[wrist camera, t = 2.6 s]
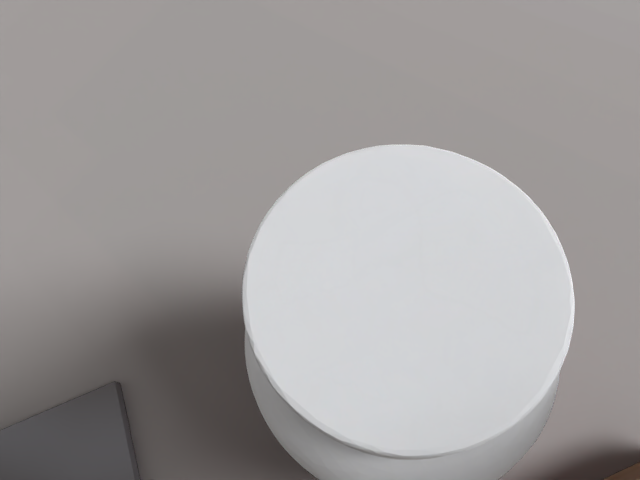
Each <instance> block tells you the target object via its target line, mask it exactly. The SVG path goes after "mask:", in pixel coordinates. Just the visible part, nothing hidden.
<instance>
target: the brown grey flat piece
mask: <svg viewBox="0 0 640 480" xmlns="http://www.w3.org/2000/svg"><path fill="white" fill-rule="evenodd" d="M0 480H140V476H139V472H138V467H137V462H136V457H135V452H134V448H133V443H132V438H131V433H130V428H129V424H128V419H127V414H126V409H125V404H124V399H123V395H122V390H121V385H120V383H118V382H113V383H110V384H108V385H106V386H103V387H101V388H98V389H96V390H94V391H91V392H89V393H87V394H84V395H82V396H80V397H77V398H75V399H73V400H70V401H68V402H66V403H63V404H61V405H59V406H56V407H54V408H52V409H49V410H47V411H45V412H42V413H40V414H37V415H35V416H33V417H30V418H28V419H26V420H23V421H21V422H19V423H16V424H14V425H12V426H9V427H7V428H5V429H2V430H0ZM603 480H640V462H639V463H637V464H635V465H633V466H631V467H628V468H626V469H624V470H622V471H620V472H618V473H616V474H614V475H611V476H609V477H607V478H605V479H603Z"/></svg>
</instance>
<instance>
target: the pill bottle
mask: <svg viewBox="0 0 640 480" xmlns="http://www.w3.org/2000/svg"><path fill="white" fill-rule="evenodd" d="M242 309H243V318H244V324H245V359H246V367H247V372H248V377H249V381H250V384H251V388H252V391H253V394H254V397H255V400H256V402H257V405H258V407H259V410H260V412H261V414H262V415H263V417H264V419H265V421H266V423H267V425H268V426H269V428H270V430H271V431H272V433H273V434H274V436H275V437H276V439H277V440H278V441H279V443H280V444H281V445H282V446H283V448H284V449H285V450H286V451H287V452H288V453H289V454H290V455H291V456H292V457H293V458H294V459H295V460H296V461H297V462H298V463H299V464H300V465H301V466H302V467H303V468H304V469H306V470H307V471H308V472H310V473H311V474H312V475H313V476H315V477H316V478H318V479H319V480H497V479H499V478H500V477H502V476H503V475H504V474H505V473H507V472H508V471H509V470H510V469H511V468H512V467H513V466H514V465H515V464H516V463H517V462H518V461H519V460H520V459H521V458H522V457H523V456H524V455H525V454H526V453H527V452H528V450H529V449H530V448H531V447H532V445H533V444H534V443H535V442H536V440H537V438H538V437H539V435H540V433H541V431H542V430H543V428H544V426H545V424H546V422H547V419H548V417H549V415H550V412H551V410H552V407H553V404H554V400H555V397H556V392H557V388H558V382H559V376H560V369H561V366H562V364H563V362H564V359H565V357H566V354H567V351H568V349H569V345H570V340H571V335H572V331H573V325H574V310H575V300H574V291H573V283H572V278H571V273H570V269H569V264H568V261H567V258H566V256H565V253H564V251H563V248H562V246H561V244H560V241H559V239H558V237H557V235H556V233H555V231H554V230H553V228H552V226H551V225H550V223H549V221H548V220H547V218H546V217H545V215H544V214H543V213H542V211H541V210H540V209H539V208H538V206H537V205H536V204H535V203H534V202H533V201H532V200H531V199H530V198H529V197H528V196H527V195H526V194H525V193H524V192H523V191H522V190H521V189H519V188H518V187H517V186H516V185H515V184H513V183H512V182H511V181H509V180H508V179H507V178H505V177H504V176H503V175H501V174H500V173H498V172H496V171H495V170H493V169H492V168H490V167H488V166H486V165H484V164H482V163H480V162H477V161H475V160H473V159H471V158H468V157H465V156H462V155H460V154H457V153H454V152H451V151H447V150H443V149H438V148H434V147H429V146H422V145H381V146H374V147H368V148H364V149H360V150H356V151H352V152H349V153H345V154H343V155H340V156H338V157H336V158H333V159H331V160H329V161H326V162H324V163H322V164H321V165H319V166H317V167H316V168H314V169H312V170H311V171H309V172H308V173H306V174H304V175H303V176H302V177H301V178H299V179H298V180H297V181H296V182H294V183H293V184H292V185H291V186H290V187H289V188H288V189H287V190H286V191H285V192H284V193H283V194H282V195H281V196H280V197H279V198H278V199H277V201H276V202H275V203H274V205H273V206H272V207H271V208H270V210H269V211H268V212H267V214H266V216H265V217H264V219H263V220H262V222H261V224H260V225H259V227H258V230H257V232H256V234H255V236H254V238H253V241H252V243H251V246H250V248H249V251H248V254H247V258H246V262H245V268H244V274H243V282H242Z"/></svg>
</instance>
